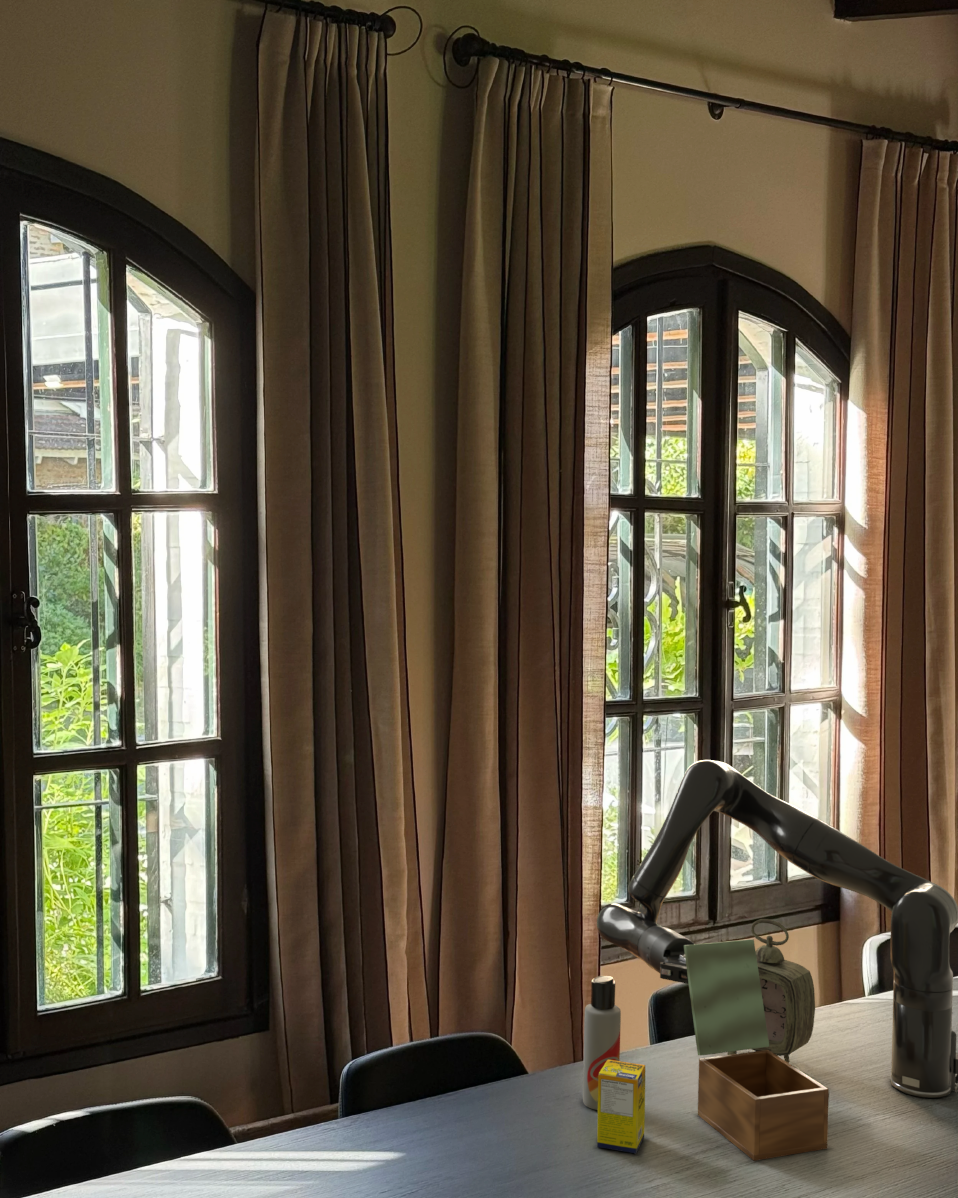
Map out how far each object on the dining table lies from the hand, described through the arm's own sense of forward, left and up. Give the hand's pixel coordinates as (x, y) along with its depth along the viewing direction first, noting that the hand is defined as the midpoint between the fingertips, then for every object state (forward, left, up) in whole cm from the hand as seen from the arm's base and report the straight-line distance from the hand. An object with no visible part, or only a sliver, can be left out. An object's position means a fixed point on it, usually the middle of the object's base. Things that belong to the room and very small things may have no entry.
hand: (721, 984), depth 190 cm
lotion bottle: (+19, -4, -19) cm, 27 cm away
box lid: (0, +2, -1) cm, 2 cm away
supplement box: (+22, +9, -19) cm, 30 cm away
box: (0, +12, -19) cm, 22 cm away
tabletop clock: (-16, -10, -19) cm, 27 cm away
